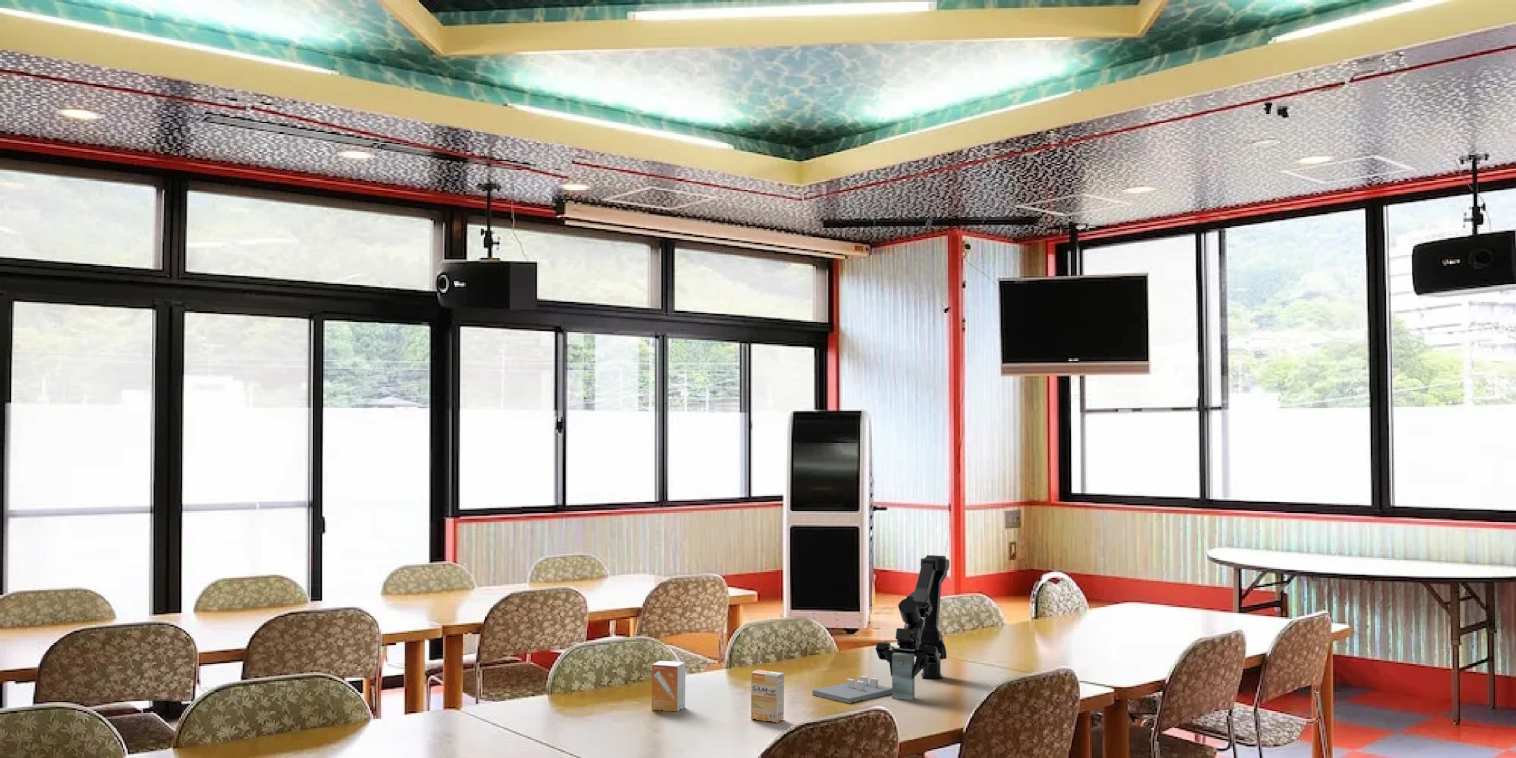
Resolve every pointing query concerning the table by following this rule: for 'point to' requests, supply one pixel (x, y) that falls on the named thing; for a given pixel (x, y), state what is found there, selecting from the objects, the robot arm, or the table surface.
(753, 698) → the supplement box
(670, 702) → the small box
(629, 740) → the table surface
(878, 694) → the base plate
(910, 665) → the tall streaky grey pillar
